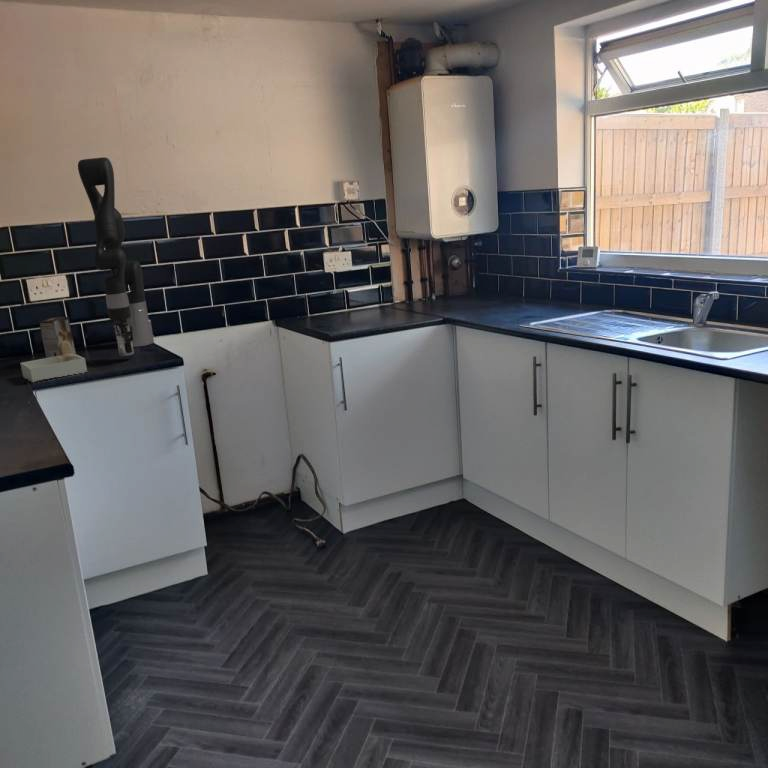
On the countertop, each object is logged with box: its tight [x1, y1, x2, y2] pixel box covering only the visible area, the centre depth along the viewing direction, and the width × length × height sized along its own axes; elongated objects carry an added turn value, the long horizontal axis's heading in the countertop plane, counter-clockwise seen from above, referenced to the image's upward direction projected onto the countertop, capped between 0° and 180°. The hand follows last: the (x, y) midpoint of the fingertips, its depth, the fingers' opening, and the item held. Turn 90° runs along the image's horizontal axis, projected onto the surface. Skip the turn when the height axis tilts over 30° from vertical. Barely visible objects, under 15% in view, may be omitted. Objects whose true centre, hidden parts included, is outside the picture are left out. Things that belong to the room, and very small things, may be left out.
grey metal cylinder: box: [116, 335, 135, 357], centre depth 263 cm, size 5×5×7 cm
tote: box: [20, 353, 88, 384], centre depth 249 cm, size 18×14×5 cm
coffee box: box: [38, 316, 77, 358], centre depth 268 cm, size 9×6×16 cm
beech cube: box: [56, 354, 76, 363], centre depth 251 cm, size 5×5×5 cm
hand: (126, 351), depth 264 cm, fingers closed on grey metal cylinder, 5 cm apart
